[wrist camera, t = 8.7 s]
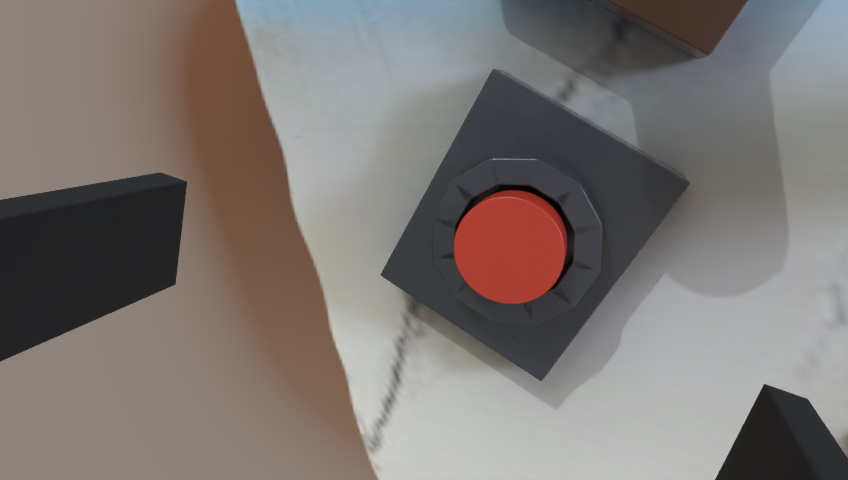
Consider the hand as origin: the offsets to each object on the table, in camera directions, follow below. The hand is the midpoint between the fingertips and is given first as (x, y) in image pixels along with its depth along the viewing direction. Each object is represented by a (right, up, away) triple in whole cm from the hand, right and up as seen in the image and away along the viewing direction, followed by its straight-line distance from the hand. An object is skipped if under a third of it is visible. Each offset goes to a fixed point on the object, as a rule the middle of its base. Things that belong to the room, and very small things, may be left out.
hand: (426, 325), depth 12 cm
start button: (+4, +2, +13) cm, 14 cm away
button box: (+5, +3, +17) cm, 18 cm away
